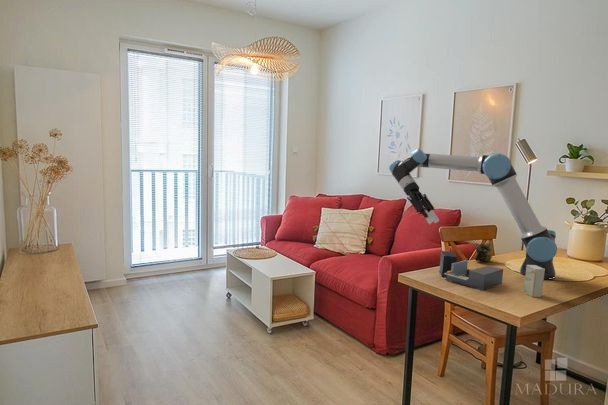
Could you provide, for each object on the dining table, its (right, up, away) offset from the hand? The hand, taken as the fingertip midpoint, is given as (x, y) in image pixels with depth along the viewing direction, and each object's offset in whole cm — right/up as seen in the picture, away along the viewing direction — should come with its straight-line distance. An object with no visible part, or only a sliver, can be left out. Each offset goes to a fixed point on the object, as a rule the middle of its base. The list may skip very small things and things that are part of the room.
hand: (434, 222), depth 202 cm
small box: (+5, -25, -4) cm, 26 cm away
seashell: (+34, -23, +24) cm, 47 cm away
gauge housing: (+13, -27, -14) cm, 33 cm away
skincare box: (+32, -29, -30) cm, 53 cm away
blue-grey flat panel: (+7, -25, -10) cm, 28 cm away
